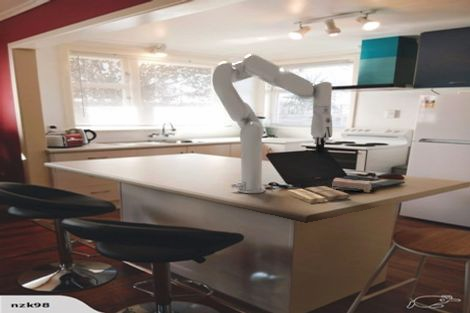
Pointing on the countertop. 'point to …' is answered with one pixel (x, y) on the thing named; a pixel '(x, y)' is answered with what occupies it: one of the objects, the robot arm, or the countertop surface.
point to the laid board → (306, 196)
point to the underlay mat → (336, 200)
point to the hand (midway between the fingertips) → (319, 153)
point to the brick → (352, 184)
